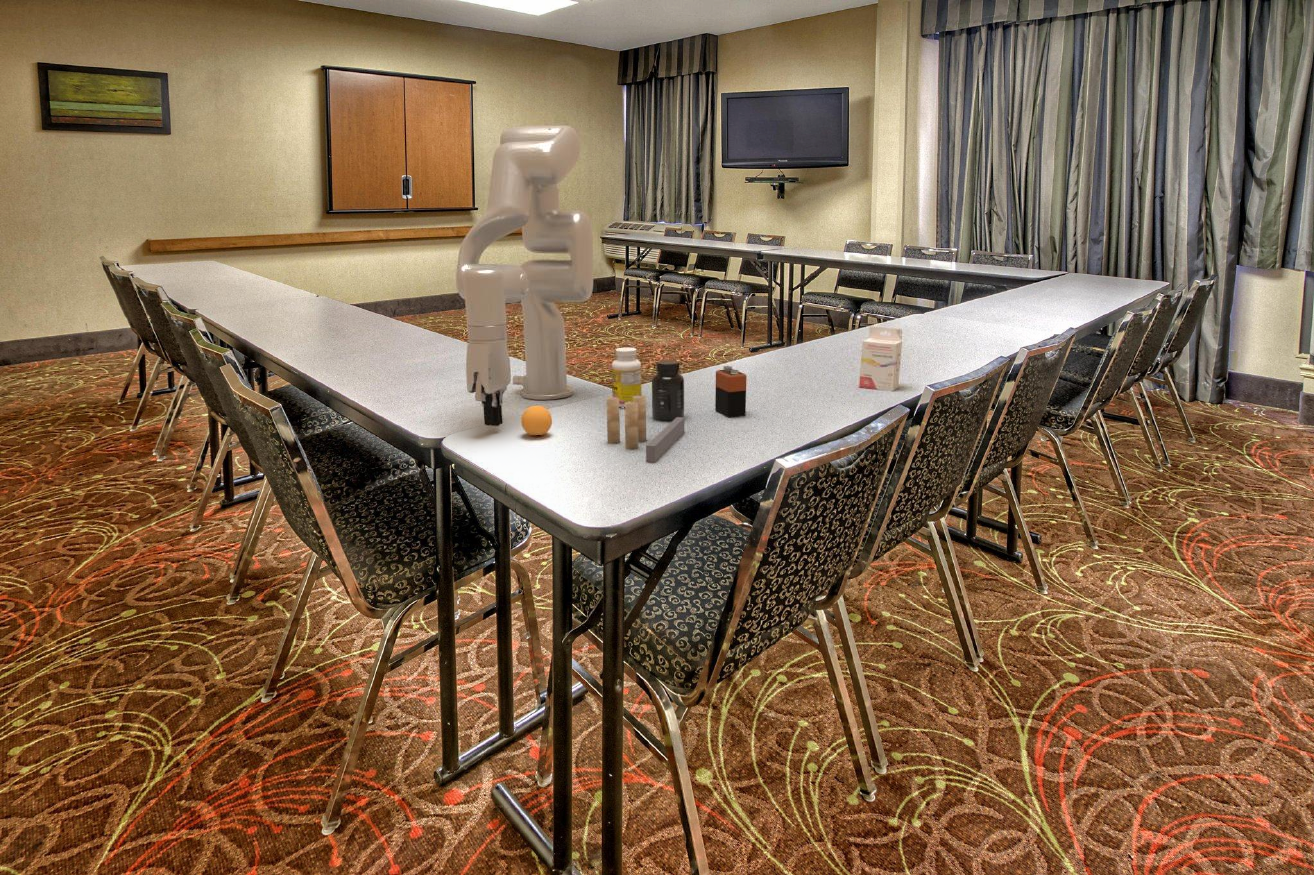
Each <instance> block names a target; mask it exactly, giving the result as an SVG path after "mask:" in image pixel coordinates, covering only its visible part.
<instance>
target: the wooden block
mask: <svg viewBox="0 0 1314 875" xmlns="http://www.w3.org/2000/svg"><path fill="white" fill-rule="evenodd" d="M605 400H606V401H605V402H606V428H607V429H606V430H607V432H606V433H607V434H606V436H607V444H611V445H612V444H613V445H614V444H619V443H621V432H620V431H621V424H620V423H621V422H620V420H621V419H620V413H621V412H620V408H619V398H617V397H612V396H610V397H607V398H606V399H605Z"/></svg>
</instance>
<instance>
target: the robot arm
mask: <svg viewBox="0 0 1314 875" xmlns="http://www.w3.org/2000/svg"><path fill="white" fill-rule="evenodd" d="M499 138H500V139H499V144H500V145H499V146H498V147H497V148H496V149H495V151H494V152H493V158H492V166H491V173H490V182H489V190H488V197H487V198H488V199H487V206H486V211H485V213H484V215H483V216H482V217H480V219H478V220H477V221H476V222H475V223H474V224H473V226H472V227H471V228H470V230H469V231H468V232H467V234H466V235H465V236H464V239H463V240H462V242H461V244H460V248H459V249H458V250H459V251H458V257H457V263H456V264H457V265H456V273H455V274H456V276H455V278H456V279H455V282H456V283H455V284H456V290H457V293H458V294H459V296H460V297H461V298H462V299H463V300H464V301H465V302H464V304H465V316H466V331H467V347H466V360H465V361H466V362H465V364H466V365H465V366H466V367H465V368H466V369H465V370H466V371H465V372H466V373H465V374H466V375H465V376H466V391H467V392H468V393H469V394H473V393H475V395H474V396H475V397H474V398H475V401H476V402H480V403H481V406H482V407H483V419H484V420H483V421H484V425H485V426H489V427H500V425H503V422H504V421H503V408H502V405H503V402H504V401H503V400H504V399H503V398H504V397H503V394H504V393H505V392H506V391H507V389H508V388H507V387H508V386H509V385H510V384H511V380H512V384H513V385H515V386H516V385H517V386H522V388H521V390H520V395H521V396H522V397H523V398H525V399H529V400H536V401H537V400H538V401H539V400H541V401H542V400H543V401H544V400H545V401H547V400H558V399H564V398H567V397H570V396H573V394H574V393H575V391H574V390H575V389H574V388H573V386H571V385H568V380H567V379H568V378H567V377H568V376H567V356H566V355H567V354H566V352H567V351H566V329H565V328H566V327H565V326H566V325H565V324H566V323H565V319H564V317H563V315H562V313H561V312H560V310H559V309H558V307H557V306H556V304H555V303H582V302H583V303H584V302H587V301H588V300H589V299H590V298H591V297H592V294H593V289H594V246H593V244H594V243H593V242H594V240H593V228H592V227H593V226H592V224H591V221H590V218H589V216H588V215H587V214H586V213H585V212H584V211H581V210H577V209H573V210H572V209H561V208H560V196H559V195H560V194H559V192H560V191H559V185H558V184H559V183H561V182H563V180H564V179H565V178H566V177H567V176H568V175H569V173H570V172H571V171H572V169H573V168H574V167H575V165H576V164H577V162H578V159H579V156H580V152H581V145H580V143H581V142H580V138H579V135H578V134H577V131H576V130H575V129H574V128H573V127H571V126H569V125H564V124H563V125H560V124H559V125H523V126H522V125H521V126H520V125H519V126H513V127H509V128H507V129H505V130H503V131H502V133H501V134H500V137H499ZM520 229H521V234H522V242H523V245H524V247H525V249H526V250H527V251H529V252H531V253H535V254H536V253H537V254H568V255H569V258H570V259H546V258H545V259H544V258H542V259H531V260H528V261H524V262H523V263H521V264H520V266H519V265H516V264H510V263H509V264H508V263H507V264H501V263H498V264H497V263H480V259H481V257H482V255H483V253H484V252H485V250H486V249H487V248H488V247H489V246H490V245H492V244H493V243H495V242H496V241H497V240H499V239H502V238H503V237H506V236H508V235H510V234H512V233H514V232H516V231H518V230H520ZM519 302H520V304H521V310H522V319H523V339H524V340H523V341H524V357H525V359H524V360H525V372H526V373H525V375H523V376H522V375H513V377H512V376H511V375H512V373H511V371H512V370H511V360H510V353H509V346H508V326H507V310H506V307H507V306H506V304H509V303H510V304H511V303H512V304H513V303H519ZM511 377H512V378H511Z"/></svg>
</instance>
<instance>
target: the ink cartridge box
mask: <svg viewBox="0 0 1314 875" xmlns="http://www.w3.org/2000/svg"><path fill="white" fill-rule="evenodd" d="M868 332H869V333H868V334H869V337H868V338H866V339H863V340H862V345H861V346H862V348H861V357H860V358H861V359H860V371H859V385H858V387H859V388H863V389H869V390H870V389H871V390H877V391H883V392H884V391H886V392H894V391H895V390H897V389H898V388H899V382H900V381H899V380H900V372H901V371H900V369H901V361H902V360H901V359H902V350H903V349H902V348H903V347H902V346H903V341H902V338H903V336H902V335H903V329H902V328H899V327H898V328H897V327H888V326H874V325H871V326H870V327H869V331H868ZM883 332H887V333H891V334H883Z"/></svg>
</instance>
